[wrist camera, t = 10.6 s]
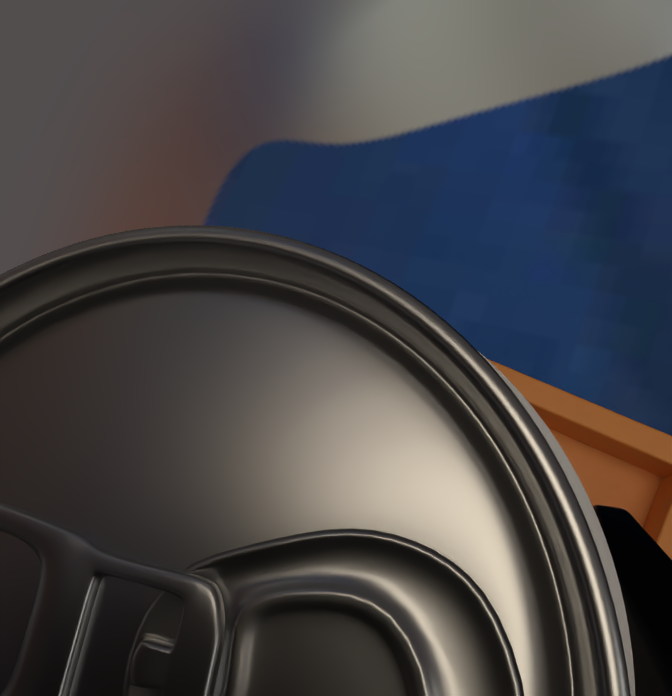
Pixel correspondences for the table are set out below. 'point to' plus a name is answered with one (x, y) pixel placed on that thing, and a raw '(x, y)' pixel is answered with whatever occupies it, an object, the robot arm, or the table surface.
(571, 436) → the tray
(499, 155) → the table surface
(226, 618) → the can
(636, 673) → the robot arm
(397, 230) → the table surface
